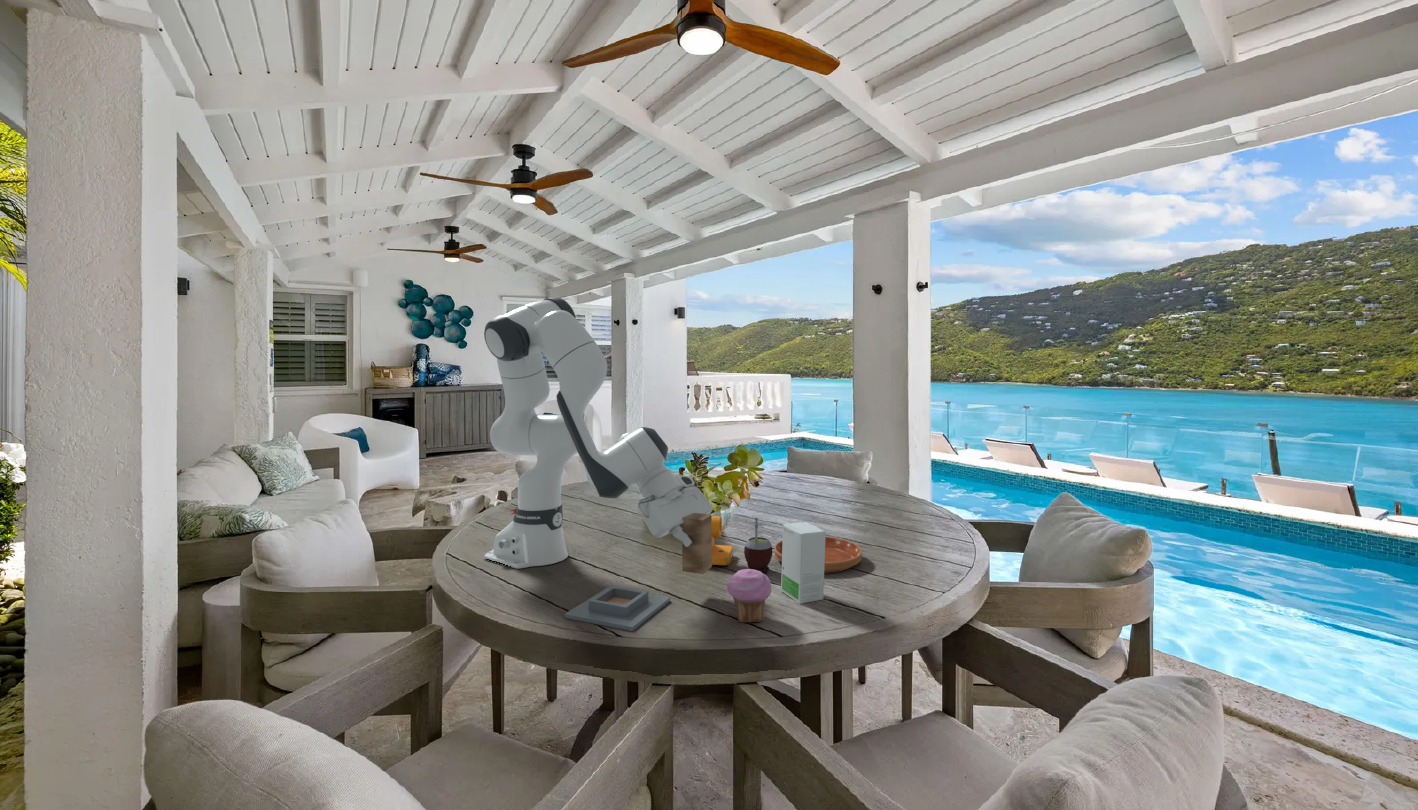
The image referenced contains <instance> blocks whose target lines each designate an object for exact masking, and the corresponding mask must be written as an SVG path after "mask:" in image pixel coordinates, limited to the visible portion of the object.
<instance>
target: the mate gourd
mask: <svg viewBox="0 0 1418 810" xmlns="http://www.w3.org/2000/svg"><path fill="white" fill-rule="evenodd" d="M758 520H759V519H758V517H755V521H754V522H755V523H754V537H753V536H752V537H750V538H748V539H747V540H746V542H745V544H744V548H743V554H744V559H745V560H746V564H747V569H754V570H757V571H760V572H762V573H763V574H765V575H766V576H767V575H768V572H767V570H769V569H770V567H768V566H769V565H770V563H771V561H772V558H773V553H774V551H773V545H772V542H771V541H770V540H769V539H768V538H766V537H761V536H758V528H759V524H758V523H759V521H758Z"/></svg>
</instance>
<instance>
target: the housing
mask: <svg viewBox="0 0 1418 810" xmlns="http://www.w3.org/2000/svg"><path fill="white" fill-rule="evenodd" d="M670 602H671V597H670V596H664V595H657V594H650V593H649V591H646V590H641V589H640V590H638V589H632V588H627V587H623V586H622V587H621V586H615V585H611V586H610V587H609V586H608V587H606V588H604V589H603V590H601V591H600V592H598V593H596V594H595V595H593V596H592V597H589V598H588V599H587V600H585V601H584V602H582V603H580V604H578V605H576V606H575V607H574V608H572V609H570V610H569V611H567V612H565V613H564V619H568V620H573V621H579V622H584V623H589V624H593V625H599V626H603V627H604V626H605V627H609V628H613V629H620V630H624V631H629V632H634V630H636V629H637V628H638V627H640V626H641V625H642V624H644V623H645V622H646V621H647V620H649V619H650V618H651V617H652V616H653V615H654V614H656V613H657V612H659V611H660V610H661V609H662V608H663V607H665V606H666V605H667V604H669V603H670Z"/></svg>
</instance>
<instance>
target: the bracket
mask: <svg viewBox="0 0 1418 810" xmlns="http://www.w3.org/2000/svg"><path fill="white" fill-rule="evenodd" d="M711 517H712V566H713V565H714V566H716V565H717V566H729V565H730V564H731V561H732V556H733V546H732V545H723V544H716V543H715V538H721V536H722V530H723V523H722V522H723V518H722V516H720V515H719V516H718V515H711Z"/></svg>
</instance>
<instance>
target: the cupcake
mask: <svg viewBox="0 0 1418 810" xmlns="http://www.w3.org/2000/svg"><path fill="white" fill-rule="evenodd" d="M727 592H728V594H729V595H730V596H731V597H732V598H733V600H734V605H735V610H736V611H735V613H736V617H737V620H738V621H739V622H740V623H760V622H763V619H764V614H765V612H764V611H765V604H766V600H767V599H768V598H769V597H770V595H771V594H772V583H771V579H770V578H769V576H767V575H765V574H763V573H762V572H760V571H757V570H754V569H748V568H743V569H740V570H737V571H736V572H735V573H734V574H733V575H732V576H731V577H730V578H729V580H728V581H727Z"/></svg>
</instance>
